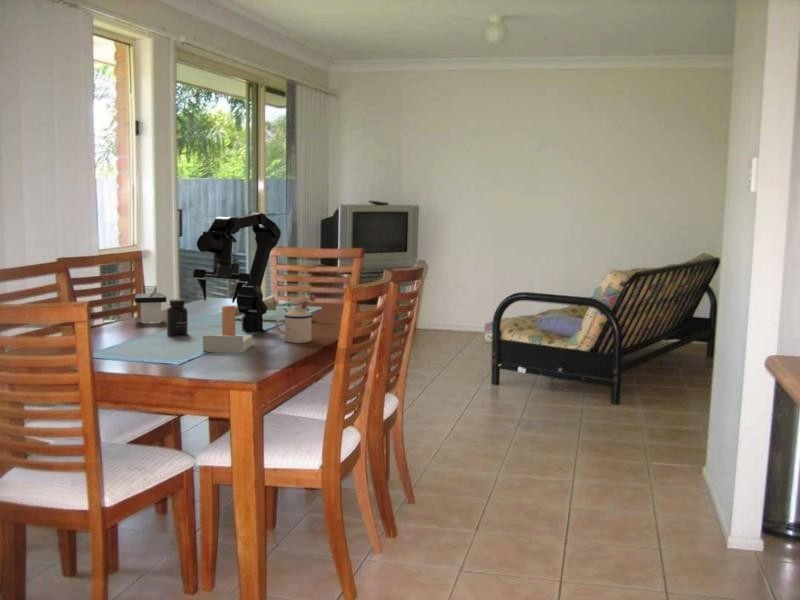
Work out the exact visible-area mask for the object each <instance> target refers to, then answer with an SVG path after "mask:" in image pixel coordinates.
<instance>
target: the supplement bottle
mask: <svg viewBox="0 0 800 600" xmlns="http://www.w3.org/2000/svg"><path fill="white" fill-rule="evenodd" d="M185 304H186V303H185V299H180V298H177V299H176V298H173V299H169V306H170V307H168V308H167V309H166V310H167V311H166V334H167V336H170V335H184V336H186V335H185V334H187V335H188V333H189V331H188V326H189V325H188V323H189V322H188V320H189V319H188V317H189V316H188V315H189V314H188V309H187V308H186V307H185Z"/></svg>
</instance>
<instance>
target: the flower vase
mask: <svg viewBox="0 0 800 600" xmlns="http://www.w3.org/2000/svg"><path fill="white" fill-rule="evenodd" d="M310 294H311V289H309V290H307V292H306V294H305V299H301V300H297V299H296V298H298V297H299V291H297V293H296V298H295V296H294V294H292V298H294V300H293V301H291V297H289V298H288V299H287V303H283V304H277V302H276V299H275V296H274V295H273V294H271V295H269V296H267V297H263V299H262V300H263V302H264V303H265V305H266V306H267V311H277V307H278V306H279V308H281V307H283V310H284V311H285V313H287V312H289V311H288V310H287V308H285V307H284V306H287V307H288V308H291V307H292V306H294V304H295V303H298V302H300V304H295V306H301V309H304V310H305V311H307V312H309V307H308V305H309V304H310V302H312V303H315V301H316V296H315V295H314V294H312V295H310ZM309 295H310V298H309V297H308V298H307V296H309ZM296 300H297V301H296ZM307 300H310V302H309V301H307ZM234 306H235V318H236V317H239V316H243V313H239V310H238V306H237V304H236V305H234Z"/></svg>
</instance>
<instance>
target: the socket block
mask: <svg viewBox="0 0 800 600" xmlns="http://www.w3.org/2000/svg"><path fill="white" fill-rule="evenodd" d="M252 346H253V335H252V334H251V335H249V334H247V335H246V334H244V335H243V334H235V336H232V335H222V334H203V335H202V351H207V352H206V353H230V354H231V353H236V354H237V353H238V354H242V353H245V351H247V349H249V348H251V347H252Z"/></svg>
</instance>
